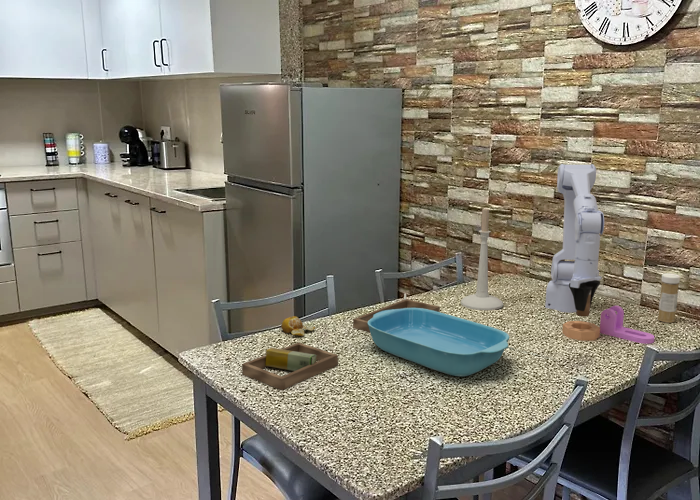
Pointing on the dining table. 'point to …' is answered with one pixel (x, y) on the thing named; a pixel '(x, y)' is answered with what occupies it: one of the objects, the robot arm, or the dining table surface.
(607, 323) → the bracket
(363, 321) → the wagon frame
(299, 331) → the fruit
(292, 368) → the medication box
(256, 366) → the box frame
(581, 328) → the orange flat ring
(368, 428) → the dining table surface
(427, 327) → the casserole dish
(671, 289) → the sprinkles bottle
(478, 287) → the candlestick
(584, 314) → the peg
